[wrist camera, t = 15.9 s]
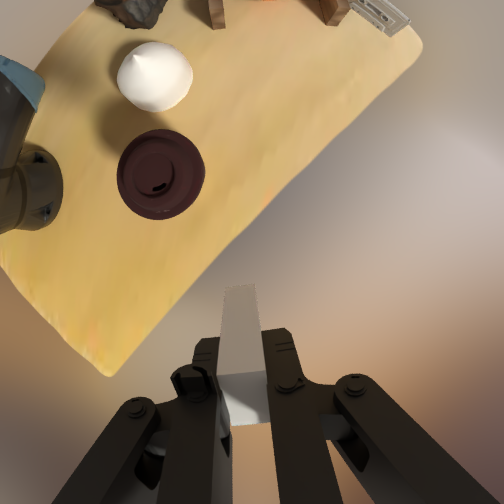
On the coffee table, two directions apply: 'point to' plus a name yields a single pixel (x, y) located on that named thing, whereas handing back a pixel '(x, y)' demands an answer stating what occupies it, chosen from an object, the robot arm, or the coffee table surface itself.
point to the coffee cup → (160, 174)
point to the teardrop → (155, 76)
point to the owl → (134, 11)
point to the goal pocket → (331, 5)
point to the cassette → (381, 15)
